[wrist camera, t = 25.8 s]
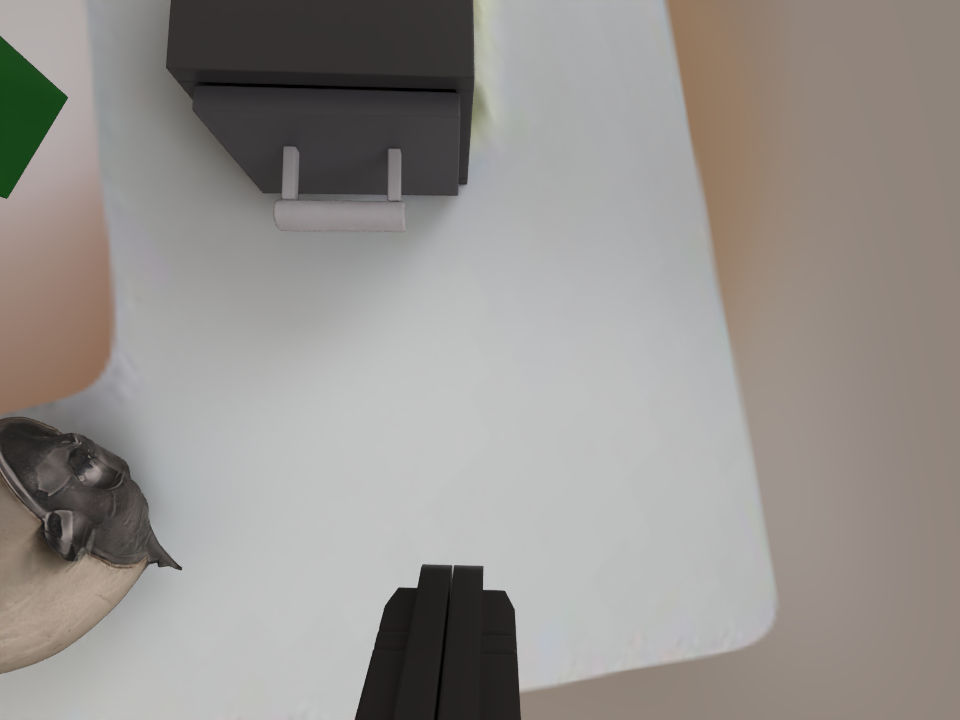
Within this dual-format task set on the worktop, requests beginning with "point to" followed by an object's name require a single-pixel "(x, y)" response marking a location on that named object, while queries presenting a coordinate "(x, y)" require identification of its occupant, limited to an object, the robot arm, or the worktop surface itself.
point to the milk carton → (22, 113)
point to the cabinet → (328, 46)
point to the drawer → (337, 148)
